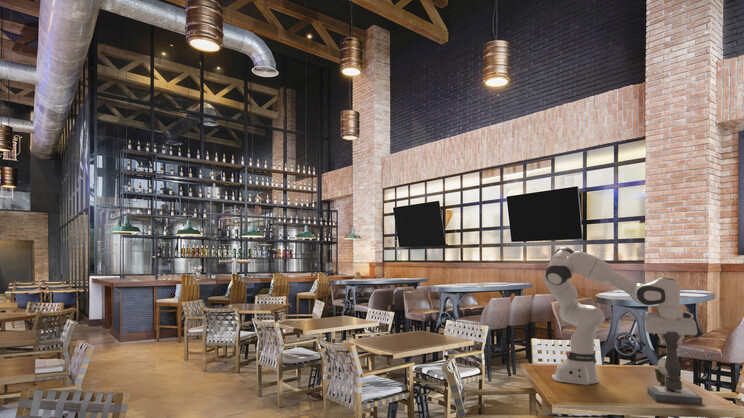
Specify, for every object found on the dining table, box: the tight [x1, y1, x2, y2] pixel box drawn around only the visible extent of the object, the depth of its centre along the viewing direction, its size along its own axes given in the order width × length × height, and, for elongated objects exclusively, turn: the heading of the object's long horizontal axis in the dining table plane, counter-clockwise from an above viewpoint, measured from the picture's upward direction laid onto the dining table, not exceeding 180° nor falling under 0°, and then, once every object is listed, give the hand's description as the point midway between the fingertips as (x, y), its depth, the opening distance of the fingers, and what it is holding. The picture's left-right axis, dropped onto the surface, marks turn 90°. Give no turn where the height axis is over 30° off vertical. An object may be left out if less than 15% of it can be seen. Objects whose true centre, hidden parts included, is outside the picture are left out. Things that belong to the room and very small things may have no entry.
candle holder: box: [663, 332, 683, 390], centre depth 218 cm, size 6×6×25 cm
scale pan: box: [653, 385, 697, 397], centre depth 217 cm, size 14×11×1 cm
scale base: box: [646, 356, 703, 406], centre depth 219 cm, size 18×14×18 cm
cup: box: [654, 367, 665, 386], centre depth 239 cm, size 8×7×8 cm
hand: (671, 344), depth 219 cm, fingers closed on candle holder, 5 cm apart
